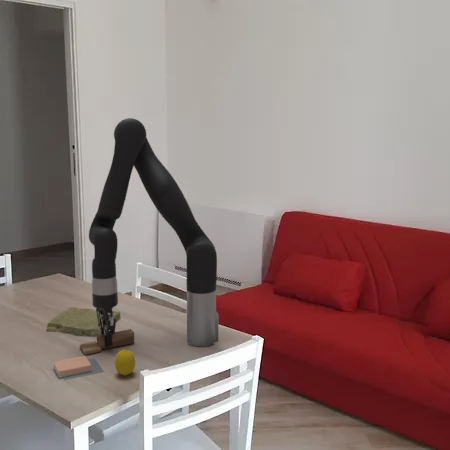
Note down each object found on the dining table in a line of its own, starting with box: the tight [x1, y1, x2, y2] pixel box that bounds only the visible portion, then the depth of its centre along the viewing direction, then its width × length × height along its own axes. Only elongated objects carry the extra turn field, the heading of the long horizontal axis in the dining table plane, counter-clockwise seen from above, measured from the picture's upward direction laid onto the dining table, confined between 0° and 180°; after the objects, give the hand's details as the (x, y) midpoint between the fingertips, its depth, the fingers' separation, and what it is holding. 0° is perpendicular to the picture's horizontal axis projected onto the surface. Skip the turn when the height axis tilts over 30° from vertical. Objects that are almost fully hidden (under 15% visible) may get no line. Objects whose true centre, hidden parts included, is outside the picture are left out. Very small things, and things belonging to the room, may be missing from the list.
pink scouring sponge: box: [53, 355, 92, 379], centre depth 163 cm, size 2×7×9 cm
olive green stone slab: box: [45, 306, 122, 338], centre depth 198 cm, size 19×20×4 cm
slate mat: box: [63, 357, 105, 381], centre depth 164 cm, size 11×10×1 cm
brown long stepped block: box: [79, 328, 135, 356], centre depth 179 cm, size 6×16×4 cm, turn 118°
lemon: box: [114, 348, 136, 377], centre depth 160 cm, size 6×6×8 cm
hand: (106, 343), depth 179 cm, fingers closed on brown long stepped block, 3 cm apart
